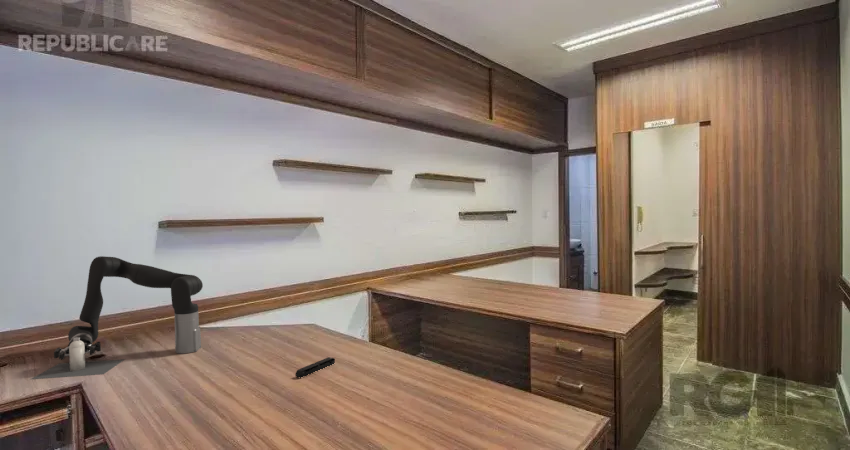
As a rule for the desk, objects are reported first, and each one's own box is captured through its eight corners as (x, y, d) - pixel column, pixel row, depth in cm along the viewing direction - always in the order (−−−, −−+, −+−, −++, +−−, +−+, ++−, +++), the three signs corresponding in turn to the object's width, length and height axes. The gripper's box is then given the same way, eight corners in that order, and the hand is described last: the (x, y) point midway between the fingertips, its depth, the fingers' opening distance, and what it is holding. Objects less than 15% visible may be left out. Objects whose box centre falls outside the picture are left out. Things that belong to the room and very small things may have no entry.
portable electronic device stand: (300, 379, 153) (299, 371, 152) (295, 378, 154) (295, 370, 154) (335, 364, 167) (335, 357, 167) (330, 363, 169) (330, 356, 169)
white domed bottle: (87, 366, 164) (86, 335, 164) (80, 370, 160) (79, 339, 159) (74, 367, 163) (73, 336, 163) (67, 371, 159) (65, 340, 158)
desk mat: (125, 360, 172) (125, 359, 172) (103, 375, 156) (103, 374, 156) (59, 364, 167) (59, 363, 167) (29, 380, 152) (29, 379, 152)
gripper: (57, 338, 169) (51, 348, 156) (101, 331, 177) (99, 341, 164) (58, 356, 169) (52, 368, 156) (102, 349, 177) (100, 360, 164)
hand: (76, 354), depth 160 cm, fingers open, 8 cm apart
